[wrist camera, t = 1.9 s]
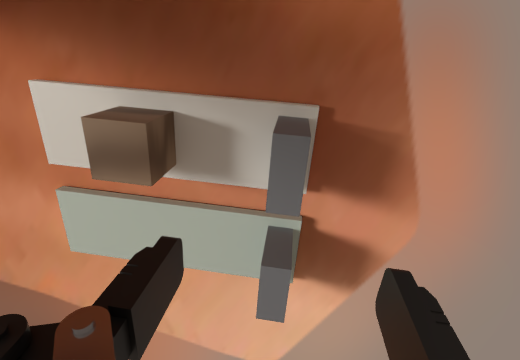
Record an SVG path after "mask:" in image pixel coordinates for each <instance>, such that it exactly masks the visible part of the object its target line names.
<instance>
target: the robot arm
mask: <svg viewBox="0 0 520 360" xmlns="http://www.w3.org/2000/svg"><path fill="white" fill-rule="evenodd" d="M183 271H184V264H183V244H182V239H181V238H175V237H168V236H161V237H160V238H159V240H158V241H157V242H156V244H155V245H154V246H153V247H145V248H144V249H142V250H141V251H139V252H137V253H136V254H135V255H134V256H133V257H132V258H131V259H130V261H129V262H128V263H127V265H126V266H125V267H124V268H123V269H122V270H121V271H120V274H118V275H117V276H116V277H115V279H114V280H113V281H112V282H111V283H110V285H109V286H108V287H107V288H106V289H105V291H104V292H103V293H102V294H101V295H100V297H99V298H98V299H97V300H96V301H95V303H94V304H93V305H92V306H87V307H84V308H81V309H78V310H76V311H74V312H73V313H71V314H69V315H68V316H67V317H66V318H64V319H63V320H62V321H61V322H60V323H53V324H46V325H38V326H30V327H29V325H28V322H27V320H26V318H25V317H24V316H22V315H19V314H8V315H3V316H0V360H128V359H129V360H140V359H141V357H142V355H143V353H144V351H145V349H146V348H147V345H148V344H149V342H150V340H151V338H152V336H153V334H154V332H155V330H156V329H157V327H158V325H159V323H160V321H161V319H162V317H163V315H164V313H165V312H166V310H167V308H168V306H169V304H170V302H171V300H172V298H173V296H174V295H175V293H176V291H177V289H178V287H179V285H180V283H181V280H182V277H183ZM376 315H377V319H378V322H379V326H380V329H381V332H382V336H383V339H384V343H385V346H386V349H387V353H388V356H389V360H470V359H469V357H468V355H467V353H466V351H465V350H464V348H463V346H462V344H461V342H460V341H459V339H458V337H457V335H456V333H455V332H454V330H453V328H452V327H451V326H450V323H449V321H448V319H447V317H446V316H445V315H444V312H443V310H442V308H441V307H440V305H439V303H438V301H437V299H436V298H434V296H432V294H430V293H429V292H428V291H427V290H426V289H425V288H424V287H418V286H417V284H416V282H415V280H414V278H413V276H412V274H411V273H410V272H409V271H405V270H399V269H391V268H387V269H386V270H385V273H384V276H383V279H382V282H381V285H380V288H379V291H378V294H377V298H376Z"/></svg>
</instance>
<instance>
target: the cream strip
mask: <svg viewBox="0 0 520 360" xmlns="http://www.w3.org/2000/svg"><path fill="white" fill-rule="evenodd" d="M28 82H29V86H30V90H31V94H32V98H33V102H34V106H35V110H36V114H37V118H38V122H39V126H40V130H41V134H42V138H43V142H44V146H45V150H46V154H47V158H48V162H49V163H50V164H58V165H67V166H75V167H84V168H90V164H89V158H88V153H87V148H86V142H85V137H84V132H83V127H82V121H81V117H83V116H86V115H90V114H93V113H97V112H100V111H104V110H107V109H111V108H114V107H118V106H125V107H135V108H146V109H156V110H166V111H174V129H175V147H176V165H175V166H174V167H173V168H172V169H170V170H169V171H168V172H167V173H166V174H165V175H164V176H163V177H168V178H176V179H185V180H193V181H202V182H210V183H219V184H227V185H236V186H244V187H252V188H261V189H268V191H267V202H266V213H273V214H281V215H289V216H297V217H299V216H300V210H301V203H302V196H303V194H306V191H307V185H308V178H309V172H310V165H311V159H312V152H313V146H314V139H315V132H316V126H317V119H318V113H319V105H312V104H301V103H290V102H279V101H268V100H257V99H246V98H235V97H224V96H213V95H202V94H191V93H180V92H169V91H158V90H147V89H137V88H126V87H115V86H104V85H93V84H82V83H71V82H60V81H49V80H38V79H37V80H28Z"/></svg>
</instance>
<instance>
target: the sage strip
mask: <svg viewBox="0 0 520 360" xmlns="http://www.w3.org/2000/svg"><path fill="white" fill-rule="evenodd" d="M56 194H57V198H58V202H59V206H60V210H61V214H62V218H63V222H64V226H65V230H66V234H67V238H68V242H69V246H70V250H71V251H75V252H81V253H88V254H95V255H102V256H109V257H116V258H122V259H129V260H130V259H131V258H132V257H133V256H134V255H135V254H136V253H137V252H139V251H141V250H142V249H144V248H145V247H153V246H154V245H155V244H156V242H157V241H158V240H159V238H160V237H161V236H168V237H175V238H181V239H182V244H183V264H184V268H191V269H198V270H205V271H211V272H218V273H225V274H232V275H239V276H246V277H252V278H259V279H260V280H259V291H258V302H257V313H256V318H257V319H263V320H270V321H276V322H282V323H284V318H285V311H286V305H287V298H288V291H289V284H290V283H293V276H294V270H295V263H296V257H297V250H298V244H299V237H300V231H301V224H302V216H299V217H297V216H289V215H281V214H273V213H266V211H259V210H251V209H243V208H235V207H227V206H219V205H211V204H203V203H195V202H187V201H179V200H171V199H163V198H155V197H147V196H139V195H131V194H123V193H115V192H107V191H99V190H91V189H83V188H75V187H67V186H62V187H60V188H58V189H56Z"/></svg>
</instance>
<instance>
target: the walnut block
mask: <svg viewBox="0 0 520 360" xmlns="http://www.w3.org/2000/svg"><path fill="white" fill-rule="evenodd" d="M81 121H82V127H83V132H84V137H85V142H86V148H87V153H88V158H89V164H90V169H91V174H92V179H96V180H105V181H113V182H121V183H129V184H137V185H146V186H152V185H154V184H155V183H156V182H157V181H158V180H159V179H160V178H161V177H163V176H164V175H165V174H166V173H167V172H168V171H169V170H170V169H172V168H173V167H174V166H175V165H176V147H175V129H174V111H166V110H156V109H146V108H135V107H125V106H118V107H114V108H111V109H107V110H104V111H100V112H97V113H93V114H90V115H86V116H83V117H81Z"/></svg>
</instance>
